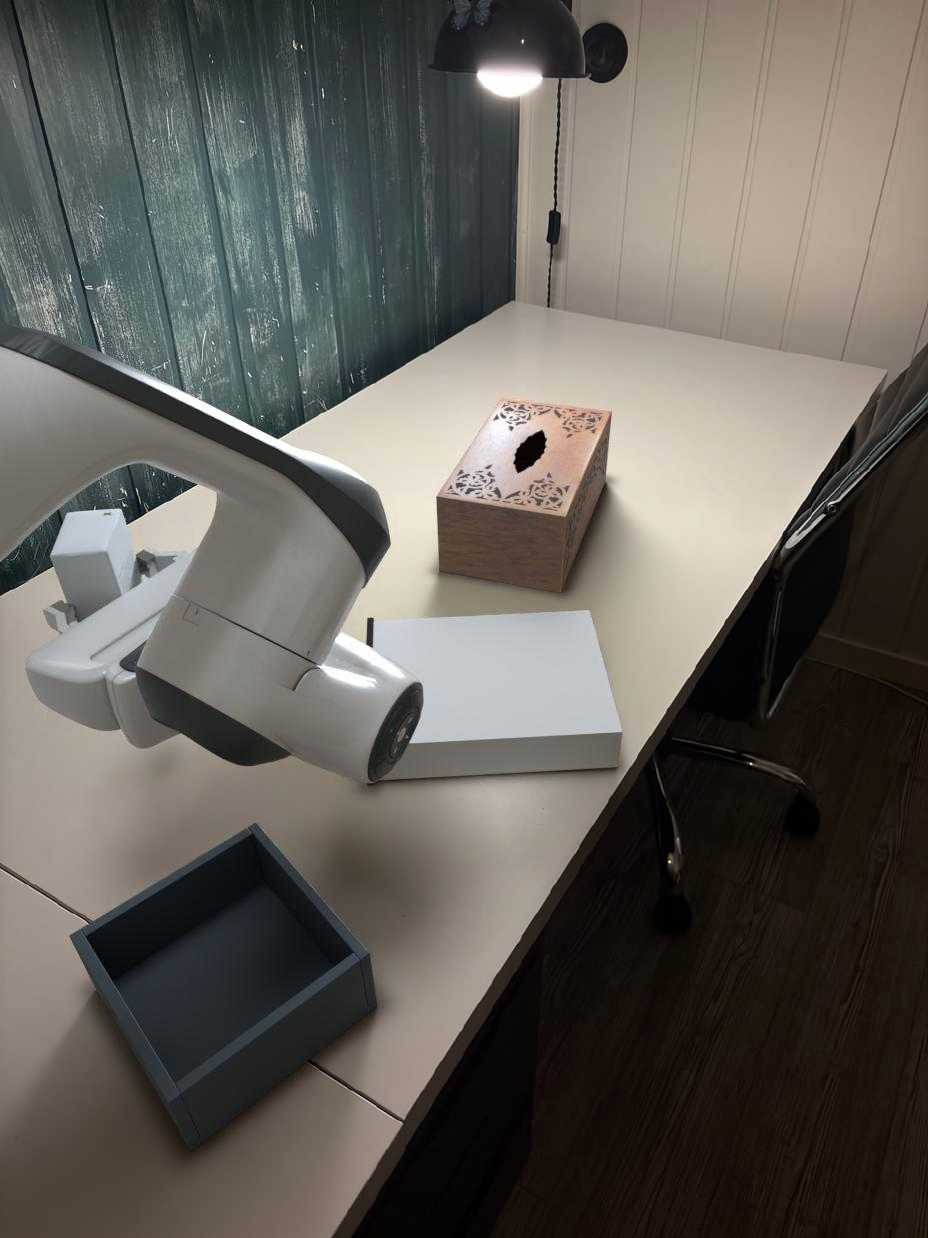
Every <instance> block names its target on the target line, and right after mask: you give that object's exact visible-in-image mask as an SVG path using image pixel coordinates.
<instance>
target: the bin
mask: <svg viewBox="0 0 928 1238" xmlns="http://www.w3.org/2000/svg"><path fill="white" fill-rule="evenodd" d="M68 936H69V938H70V940H71V943H72V945H73V947H74V950H75V951H76V952H77V955H78V956H79V958H80V960H81V962H82V964H83V967H84V969H85V970H86V972H87V974H88V976H89V979H90V980H91V982H92V984H93V986H94V988H95V990H96V992H97V994H98V995H99V997H100V998H101V1000H102V1002H103V1004H104V1005H105V1007H106V1009H107V1011H108V1012H109V1014H110V1016H111V1018H112V1019H113V1020H114V1022H115V1024H116V1026H117V1028H118V1029H119V1031H120V1032H121V1034H122V1037H123V1038H124V1040H125V1042H126V1043H127V1045H128V1046H129V1048H130V1050H131V1051H132V1053H133V1055H134V1057H135V1058H136V1060H137V1062H138V1063H139V1065H140V1067H141V1069H142V1070H143V1072H144V1074H145V1075H146V1077H147V1079H148V1081H149V1082H150V1084H151V1085H152V1087H153V1089H154V1090H155V1092H156V1094H157V1096H158V1097H159V1099H160V1101H161V1103H162V1104H163V1106H164V1108H165V1110H166V1111H167V1113H168V1115H169V1116H170V1118H171V1120H172V1122H173V1123H174V1125H175V1127H176V1128H177V1130H178V1132H179V1133H180V1135H181V1137H182V1139H183V1140H184V1142H185V1144H186V1145H187V1147H188V1149H189V1151H190V1152H193V1151H194V1150H196V1149H197V1148H199V1146H201V1145H202V1144H204V1143H205V1142H206V1141H207V1140H209V1139H210V1138H211V1137H212V1136H214V1135H215V1134H216V1133H217V1132H219V1131H220V1130H221V1129H222V1128H224V1127H225V1126H226V1125H228V1124H229V1123H230V1122H231V1121H232V1120H234V1119H235V1118H236V1117H238V1116H239V1115H241V1113H243V1112H245V1110H247V1109H248V1108H249V1107H250V1106H252V1105H253V1104H255V1103H256V1102H257V1101H258V1100H259V1099H261V1098H263V1096H265V1095H266V1094H268V1092H270V1091H271V1090H272V1089H274V1088H275V1087H276V1086H277V1085H279V1084H280V1083H281V1082H282V1081H284V1080H285V1079H286V1078H288V1077H289V1076H290V1075H291V1074H293V1073H294V1072H295V1071H296V1070H298V1069H299V1068H300V1067H302V1066H303V1065H304V1064H306V1062H308V1061H309V1060H310V1059H312V1058H313V1057H315V1055H317V1054H318V1053H319V1052H321V1051H322V1050H323V1049H325V1048H326V1047H327V1046H328V1045H329V1044H331V1043H332V1042H334V1041H335V1040H336V1039H337V1038H339V1037H340V1036H341V1035H342V1034H344V1033H345V1032H346V1031H347V1030H349V1029H351V1027H353V1026H354V1025H355V1024H356V1023H358V1022H359V1021H360V1020H362V1019H363V1018H365V1016H366V1015H368V1014H369V1013H370V1012H372V1011H373V1010H375V1009H376V1008H377V1007H378V1000H377V994H376V988H375V987H376V986H375V979H374V971H373V965H372V959H371V953H370V951H369V950H368V949H367V948H366V947H365V946H364V944H362V942H361V941H360V940H359V939H358V938H357V936H356V935H355V934H354V933H353V932H352V931H351V929H350V928H349V927H348V926H347V925H346V924H345V923H344V921H343V920H342V919H341V918H340V917H339V915H337V913H336V912H335V911H334V909H332V907H331V906H330V905H329V903H327V902H326V900H325V899H323V897H322V896H321V895H320V894H319V893H318V891H317V890H316V889H315V888H314V887H313V886H312V885H311V883H310V882H309V881H308V880H307V879H306V878H305V877H304V875H303V874H302V872H300V871H299V869H298V868H297V867H296V866H295V865H294V864H293V862H292V861H291V860H290V859H289V858H288V857H287V856H286V854H285V853H284V852H283V851H282V850H281V849H280V848H279V847H278V845H277V844H276V842H274V841H273V840H272V838H271V837H270V836H269V835H268V833H266V831H264V828H262V827H261V826H260V825H259V823H258V822H254V823H252V824H251V825H249V826H247V827H246V828H244V829H242V830H241V831H239V832H237V833H236V834H234V835H232V836H231V837H229V838H227V839H226V840H224V841H222V842H221V843H219V844H218V845H215V846H214V847H213V848H211V849H209V850H208V851H206V852H204V853H203V854H201V855H200V856H197V857H196V858H195V859H193V860H191V861H189V862H188V863H186V864H185V865H183V866H181V867H180V868H178V869H176V870H175V871H173V872H171V873H170V874H168V875H167V876H165V877H163V878H162V879H160V880H158V881H157V882H155V883H153V884H152V885H150V886H149V887H147V888H145V889H143V890H142V891H140V892H138V893H137V894H135V895H134V896H132V897H130V898H129V899H127V900H125V901H124V902H122V903H121V904H118V905H117V906H115V907H113V908H112V909H110V910H109V911H107V912H106V913H104V914H102V915H100V916H99V917H97V918H96V919H94V920H93V921H91V922H90V923H88V924H86V925H84V926H82V927H81V928H79V929H77V930H76V931H74V932H73V933H71V934H70V935H68Z"/></svg>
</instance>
